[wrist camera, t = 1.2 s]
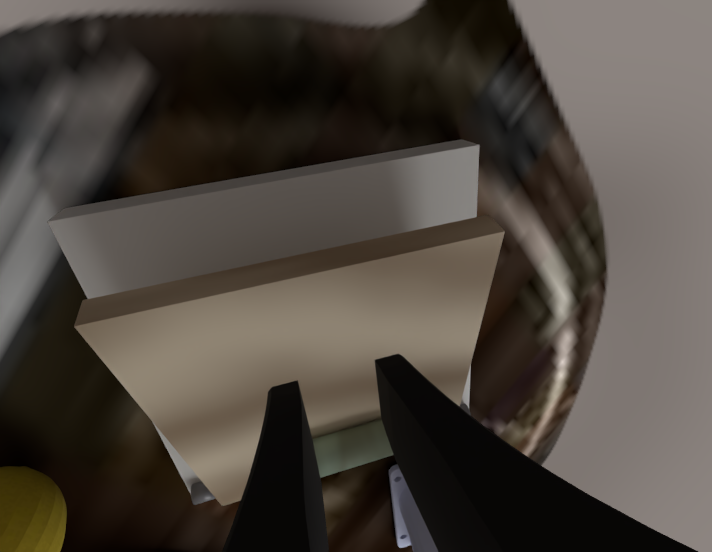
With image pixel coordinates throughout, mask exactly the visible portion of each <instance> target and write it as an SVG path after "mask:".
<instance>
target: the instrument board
mask: <svg viewBox="0 0 712 552" xmlns="http://www.w3.org/2000/svg"><path fill="white" fill-rule="evenodd" d="M504 233H505V231H504V230H503V229H502V228H501V227H500V226H499V225H498V224H497V223H496V222H495V221H494V220H493V219H492V217H491V216H490V215H484V216H480V217H475V218H470V219H465V220H461V221H456V222H451V223H446V224H442V225H437V226H432V227H427V228H423V229H418V230H413V231H408V232H404V233H399V234H394V235H390V236H385V237H380V238H375V239H371V240H366V241H361V242H356V243H352V244H347V245H342V246H337V247H333V248H328V249H323V250H318V251H314V252H309V253H304V254H299V255H295V256H290V257H285V258H281V259H276V260H271V261H266V262H262V263H257V264H252V265H247V266H243V267H238V268H233V269H228V270H224V271H219V272H214V273H209V274H205V275H200V276H195V277H190V278H186V279H181V280H176V281H172V282H167V283H162V284H157V285H153V286H148V287H143V288H138V289H134V290H129V291H124V292H119V293H115V294H110V295H105V296H100V297H96V298H91V299H86V300H83V301H82V304H81V307H80V310H79V313H78V316H77V319H76V322H75V325H74V327H75V328H76V329H77V331H78V332H79V333H80V334H81V335H82V337H83V338H84V339H85V340H86V341H87V343H88V344H89V345H90V346H91V348H92V349H93V350H94V351H95V352H96V354H97V355H98V356H99V357H100V358H101V360H102V361H103V362H104V363H105V365H106V366H107V367H108V368H109V369H110V371H111V372H112V373H113V374H114V375H115V377H116V378H117V379H118V380H119V381H120V383H121V384H122V385H123V386H124V388H125V389H126V390H127V391H128V392H129V394H130V395H131V396H132V397H133V398H134V400H135V401H136V402H137V403H138V405H139V406H140V407H141V408H142V409H143V411H144V412H145V413H146V414H147V415H148V417H149V418H150V419H151V420H152V422H153V423H154V424H155V425H156V426H157V428H158V429H159V430H160V431H161V432H162V434H163V435H164V436H165V437H166V439H167V440H168V441H169V442H170V443H171V445H172V446H173V447H174V448H175V449H176V451H177V452H178V453H179V454H180V456H181V457H182V458H183V459H184V460H185V462H186V463H187V464H188V465H189V466H190V468H191V469H192V470H193V471H194V473H195V474H196V475H197V476H198V477H199V479H200V480H201V481H202V482H203V483H204V485H205V486H206V487H207V488H208V489H209V491H210V492H211V493H212V494H213V496H214V497H215V498H216V499H217V500H218V502H219V503H220V504H221V505H222V506H224V505H227V504H230V503H234V502H237V501H240V500H241V498H242V496H243V493H244V490H245V487H246V484H247V481H248V477H249V474H250V471H251V467H252V464H253V460H254V456H255V453H256V449H257V446H258V442H259V438H260V434H261V430H262V425H263V421H264V416H265V410H266V404H267V396H268V391H269V390H270V389H271V387H274V386H278V385H281V384H285V383H289V382H293V381H297V380H298V383H299V387H300V391H301V395H302V399H303V403H304V407H305V411H306V415H307V419H308V423H309V427H310V431H311V435H312V439H313V444H314V449H315V454H316V459H317V464H318V469H319V474H320V478H321V477H324V476H327V475H330V474H334V473H337V472H340V471H343V470H347V469H350V468H353V467H356V466H360V465H363V464H366V463H369V462H372V461H376V460H379V459H382V458H385V457H389V456H392V455H394V454H393V452H392V449H391V446H390V443H389V440H388V437H387V434H386V431H385V428H384V425H383V423H382V420H381V412H380V403H379V394H378V386H377V377H376V369H375V360H376V359H380V358H383V357H387V356H391V355H395V354H398V353H399V354H400V355H402V356H403V357H404V358H405V359H406V360H407V361H408V362H409V363H411V364H412V365H413V366H414V367H415V368H416V369H417V370H418V371H419V372H420V373H421V374H422V375H423V376H424V377H425V378H427V379H428V380H429V381H430V382H431V383H432V384H433V385H434V386H436V387H437V388H438V389H439V390H440V391H441V392H442V393H444V394H445V395H446V396H447V397H448V398H450V399H451V400H452V401H453V402H454V403H456V404H457V405H458V406H459V407H460V404H461V400H462V396H463V392H464V388H465V384H466V380H467V376H468V372H469V369H470V365H471V361H472V357H473V353H474V349H475V345H476V341H477V338H478V334H479V330H480V326H481V322H482V318H483V314H484V310H485V306H486V303H487V299H488V295H489V291H490V287H491V283H492V279H493V275H494V272H495V268H496V264H497V260H498V256H499V252H500V248H501V244H502V241H503V237H504Z"/></svg>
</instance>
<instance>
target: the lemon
mask: <svg viewBox="0 0 712 552" xmlns="http://www.w3.org/2000/svg"><path fill="white" fill-rule="evenodd" d="M66 517H67V510H66V504H65V500H64V498H63V495H62V492H61V490H60V489H59V487H58V486H57V485H56V484H55V482H54V481H53V480H52V479H51V478H50V477H48V476H46V475H45V474H43V473H42V472H39V471H36V470H34V469H31V468H29V467H27V466H21V467H15V466H6V467H0V552H60V551H61V548H62V544H63V541H64V536H65V530H66Z"/></svg>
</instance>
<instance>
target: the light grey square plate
mask: <svg viewBox="0 0 712 552" xmlns="http://www.w3.org/2000/svg"><path fill="white" fill-rule="evenodd" d="M478 168H479V145H478V144H475V143H472V142H468V141H465V140H462V139H461V140H455V141H449V142H443V143H438V144H432V145H426V146H420V147H415V148H409V149H403V150H397V151H392V152H386V153H380V154H374V155H368V156H363V157H357V158H351V159H345V160H340V161H334V162H328V163H322V164H317V165H311V166H305V167H299V168H294V169H288V170H282V171H276V172H271V173H265V174H259V175H253V176H247V177H242V178H236V179H230V180H224V181H219V182H213V183H207V184H201V185H196V186H190V187H184V188H178V189H173V190H167V191H161V192H155V193H149V194H144V195H138V196H132V197H126V198H121V199H115V200H109V201H103V202H98V203H92V204H86V205H80V206H75V207H69V208H64V209H63V210H62V211H60V212H59V213H58V214H56V215H55V216H54V217H53V218H51V219H50V220H49V221H47V222H48V224H49V226H50V228H51V230H52V232H53V234H54V236H55V237H56V239H57V241H58V243H59V245H60V247H61V249H62V251H63V253H64V255H65V256H66V258H67V260H68V262H69V264H70V266H71V268H72V270H73V272H74V274H75V275H76V277H77V279H78V281H79V283H80V285H81V287H82V289H83V291H84V293H85V294H86V296H87V298H88V299H91V298H96V297H100V296H105V295H110V294H115V293H119V292H124V291H129V290H134V289H138V288H143V287H148V286H153V285H157V284H162V283H167V282H172V281H176V280H181V279H186V278H190V277H195V276H200V275H205V274H209V273H214V272H219V271H224V270H228V269H233V268H238V267H243V266H247V265H252V264H257V263H262V262H266V261H271V260H276V259H281V258H285V257H290V256H295V255H299V254H304V253H309V252H314V251H318V250H323V249H328V248H333V247H337V246H342V245H347V244H352V243H356V242H361V241H366V240H371V239H375V238H380V237H385V236H390V235H394V234H399V233H404V232H408V231H413V230H418V229H423V228H427V227H432V226H437V225H442V224H446V223H451V222H456V221H461V220H465V219H470V218H475V217H477V193H478ZM470 371H471V365H470V369H469V372H468V376H467V380H466V384H465V388H464V392H463V396H462V400H461V404H460V407H461V408H462V409H463V410H464V411H465V412H467V413H468V414H469V415H470V416H471V413H470V410H469V396H470ZM153 424H154V423H153ZM154 426H155V427H156V429H157V431H158V433H159V435H160V437H161V439H162V441H163V443H164V445H165V446H166V448H167V450H168V452H169V454H170V456H171V458H172V460H173V462H174V464H175V466H176V467H177V469H178V471H179V473H180V475H181V477H182V479H183V481H184V483H185V485H186V486H187V488H188V490H189V492H190V494H191V499H192V502H193V504H194V505H196V504H199V503H202V502H206V501H209V500H212V499H215V497H214V496H213V494H212V493H211V492H210V491H209V489H208V488H207V487H206V486H205V485H204V483H203V482H202V481H201V480H200V479H199V477H198V476H197V475H196V474H195V473H194V471H193V470H192V469H191V468H190V466H189V465H188V464H187V463H186V462H185V460H184V459H183V458H182V457H181V456H180V454H179V453H178V452H177V451H176V449H175V448H174V447H173V446H172V445H171V443H170V442H169V441H168V440H167V439H166V437H165V436H164V435H163V434H162V432H161V431H160V430H159V429H158V428H157V426H156V425H155V424H154Z"/></svg>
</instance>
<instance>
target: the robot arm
mask: <svg viewBox="0 0 712 552" xmlns="http://www.w3.org/2000/svg"><path fill="white" fill-rule="evenodd" d="M375 369H376V377H377V386H378V394H379V403H380V412H381V420H382V423H383V425H384V428H385V431H386V434H387V437H388V440H389V443H390V446H391V449H392V452H393V454H394V457H395V460H396V462H397V464H396V465H394V466H392V467H391V468H390V469H389V481H390V490H391V498H392V507H393V516H394V525H395V533H396V542H397V545H398V547H400V548H403V547H406V546H409V545H412V548H413V551H414V552H698V551H696V550H694V549H692V548H690V547H688V546H686V545H684V544H682V543H679V542H677V541H675V540H673V539H671V538H669V537H667V536H665V535H663V534H661V533H659V532H657V531H655V530H653V529H651V528H649V527H647V526H646V525H644V524H642V523H640V522H638V521H636V520H635V519H633V518H631V517H629V516H627V515H625V514H624V513H622V512H620V511H618V510H616V509H614V508H612V507H611V506H609V505H607V504H605V503H603V502H601V501H599V500H598V499H596V498H594V497H592V496H590V495H588V494H587V493H585V492H583V491H582V490H580V489H578V488H576V487H575V486H573V485H572V484H570V483H568V482H567V481H565V480H563V479H562V478H560V477H558V476H556V475H555V474H553V473H551V472H550V471H549V470H547V469H545V468H544V467H542V466H541V465H539V464H538V463H536V462H535V461H533V460H531V459H530V458H528V457H527V456H525V455H524V454H522V453H521V452H519V451H518V450H517V449H515V448H514V447H512V446H511V445H509V444H508V443H507V442H505V441H504V440H502V439H501V438H500V437H498V436H497V435H496V434H494V433H493V432H491V431H490V430H489V429H487V428H486V427H485V426H483V425H482V424H481V423H479V422H478V421H477V420H476V419H474V418H473V417H472V416H470V415H469V414H468V413H467V412H465V411H464V410H463V409H462V408H461V407H459V406H458V405H457V404H456V403H454V402H453V401H452V400H451V399H450V398H448V397H447V396H446V395H445V394H444V393H442V392H441V391H440V390H439V389H438V388H437V387H436V386H434V385H433V384H432V383H431V382H430V381H429V380H428V379H427V378H425V377H424V376H423V375H422V374H421V373H420V372H419V371H418V370H417V369H416V368H415V367H414V366H413V365H412V364H411V363H409V362H408V361H407V360H406V359H405V358H404V357H403V356H402V355H400V354H399V353H398V354H395V355H391V356H387V357H383V358H380V359H376V360H375ZM222 552H329V549H328V539H327V530H326V521H325V512H324V503H323V494H322V485H321V479H320V474H319V469H318V464H317V459H316V454H315V449H314V444H313V439H312V435H311V431H310V427H309V423H308V419H307V415H306V411H305V407H304V403H303V399H302V395H301V391H300V387H299V383H298V380H297V381H293V382H289V383H285V384H281V385H278V386H274V387H271V389H270V390H269V391H268V396H267V404H266V410H265V416H264V421H263V425H262V430H261V434H260V438H259V442H258V446H257V449H256V453H255V456H254V460H253V464H252V467H251V471H250V474H249V477H248V481H247V484H246V487H245V490H244V493H243V496H242V498H241V501H240V504H239V507H238V510H237V513H236V516H235V519H234V522H233V525H232V527H231V530H230V533H229V535H228V538H227V540H226V543H225V546H224V548H223V551H222Z"/></svg>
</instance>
